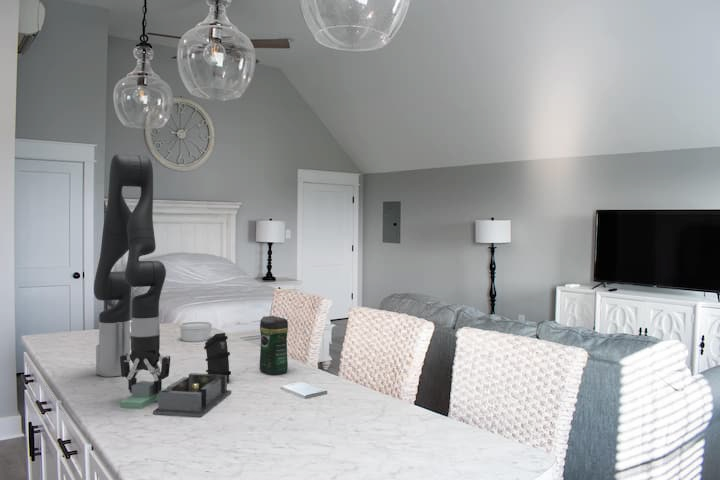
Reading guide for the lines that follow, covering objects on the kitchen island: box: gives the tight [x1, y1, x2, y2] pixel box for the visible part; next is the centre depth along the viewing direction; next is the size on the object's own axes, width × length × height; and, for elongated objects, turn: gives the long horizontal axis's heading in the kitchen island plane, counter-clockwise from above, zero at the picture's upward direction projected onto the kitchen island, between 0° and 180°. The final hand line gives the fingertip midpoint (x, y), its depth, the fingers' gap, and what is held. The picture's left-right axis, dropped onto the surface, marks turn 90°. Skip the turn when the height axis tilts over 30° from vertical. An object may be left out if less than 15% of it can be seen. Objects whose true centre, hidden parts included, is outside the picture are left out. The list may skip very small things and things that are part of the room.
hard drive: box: [279, 381, 328, 400], centre depth 164 cm, size 2×8×12 cm
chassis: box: [152, 372, 232, 418], centre depth 152 cm, size 21×13×6 cm, turn 172°
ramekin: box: [179, 320, 213, 343], centre depth 237 cm, size 13×13×7 cm
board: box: [120, 380, 167, 410], centre depth 154 cm, size 14×6×5 cm, turn 172°
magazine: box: [203, 332, 232, 384], centre depth 176 cm, size 4×13×15 cm, turn 36°
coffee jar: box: [259, 315, 289, 375], centre depth 186 cm, size 10×8×19 cm
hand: (145, 392), depth 154 cm, fingers open, 6 cm apart
